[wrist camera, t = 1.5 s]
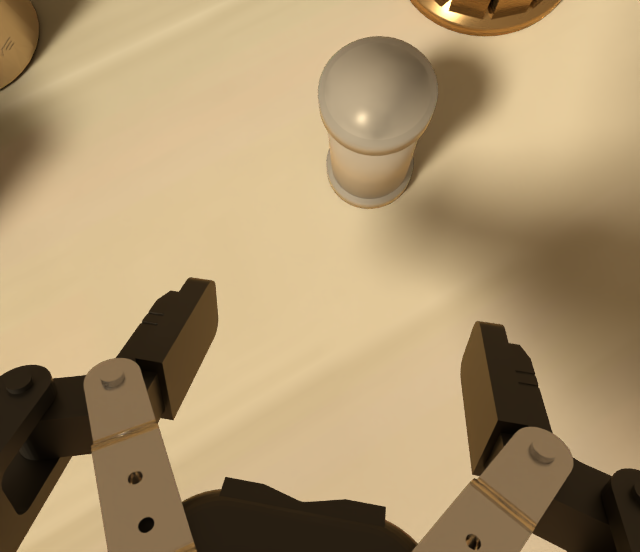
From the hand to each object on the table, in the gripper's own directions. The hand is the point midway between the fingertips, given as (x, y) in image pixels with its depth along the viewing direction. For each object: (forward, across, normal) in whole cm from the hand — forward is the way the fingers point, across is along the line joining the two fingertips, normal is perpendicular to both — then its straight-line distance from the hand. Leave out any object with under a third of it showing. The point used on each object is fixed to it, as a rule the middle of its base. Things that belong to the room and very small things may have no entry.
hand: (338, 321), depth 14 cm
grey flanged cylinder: (+18, 0, +2) cm, 18 cm away
